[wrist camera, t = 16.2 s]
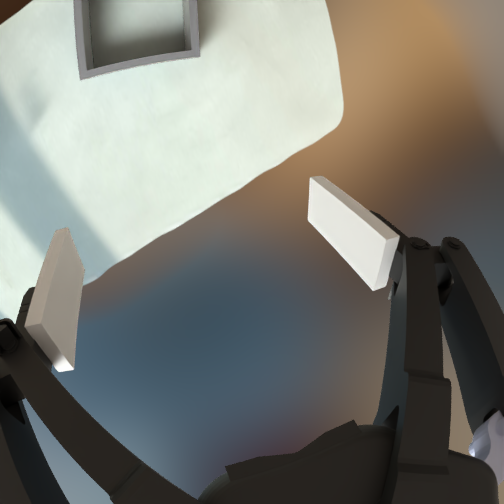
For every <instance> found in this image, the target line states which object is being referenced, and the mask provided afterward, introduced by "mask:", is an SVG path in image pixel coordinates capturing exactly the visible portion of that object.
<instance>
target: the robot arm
mask: <svg viewBox="0 0 504 504" xmlns="http://www.w3.org/2000/svg"><path fill="white" fill-rule="evenodd" d="M309 190H310V191H309V208H308V221H309V222H310V223H311V224H312V225H313V226H314V227H315V228H316V229H317V230H318V231H319V232H320V233H321V234H322V235H323V237H324V238H325V239H326V240H327V241H328V242H329V243H330V244H331V245H332V246H333V247H334V248H335V249H336V250H337V251H338V253H339V254H340V255H341V256H342V257H343V258H344V259H345V260H346V261H347V262H348V263H349V264H350V266H351V267H352V268H353V269H354V270H355V271H356V272H357V273H358V274H359V276H360V277H361V278H362V279H363V280H364V281H365V282H366V283H367V285H368V286H369V287H370V288H371V289H372V290H373V291H374V290H377V289H379V288H382V287H385V286H386V284H387V280H388V277H389V276H390V277H391V278H392V279H393V280H394V282H393V285H392V288H391V291H390V294H389V297H388V299H390V298H391V310H390V323H389V335H388V345H387V354H386V362H385V370H384V377H383V384H382V390H381V396H380V402H379V408H378V412H377V415H376V417H375V419H374V422H373V425H359V426H357V424H356V423H355V421H354V420H352V421H350V422H348V423H346V424H343V425H341V426H339V427H336V428H334V429H332V430H330V431H328V432H325V433H324V434H322V435H321V436H320V437H318V438H317V439H316V440H314V441H313V442H312V443H310V444H309V445H307V446H306V447H304V448H303V449H302V450H300V451H298V452H296V453H292V454H283V455H275V456H263V457H256V458H253V459H250V460H246V461H243V462H239V463H236V464H232V465H228V466H225V468H226V471H227V473H225V474H223V475H221V476H220V477H218V478H217V479H215V480H214V481H213V482H212V483H210V484H209V485H208V486H207V487H206V488H205V490H204V491H203V492H202V494H201V495H200V497H199V498H198V500H197V499H195V498H193V497H192V496H190V495H189V494H187V493H186V492H184V491H183V490H181V489H180V488H178V487H177V486H175V485H174V484H172V483H171V482H169V481H168V480H167V479H165V478H164V477H163V476H161V475H160V474H159V473H157V472H156V471H155V470H153V469H152V468H151V467H149V466H148V465H146V464H145V463H144V462H143V461H142V460H140V459H139V458H138V457H137V456H135V455H134V454H133V453H132V452H131V451H129V450H128V449H127V448H126V447H125V446H123V445H122V444H121V443H120V442H119V441H118V440H117V439H115V438H114V437H113V436H112V435H111V434H110V433H109V432H108V431H107V430H106V429H104V428H103V427H102V426H101V425H100V424H99V423H98V422H97V421H96V420H95V419H94V418H93V417H92V416H91V415H90V414H89V413H88V412H87V411H86V410H85V409H84V408H83V407H82V406H81V405H80V404H79V403H78V402H77V401H76V400H75V399H74V397H73V396H72V395H70V393H69V392H68V391H67V390H66V389H65V388H64V386H63V385H62V384H61V383H60V382H59V381H58V380H57V378H56V377H55V376H54V375H53V374H52V373H51V368H52V364H53V365H54V367H55V368H56V369H57V370H58V372H62V371H68V370H74V362H75V346H76V335H77V323H78V315H79V307H80V299H81V292H82V285H83V279H84V273H85V269H84V266H83V264H82V262H81V259H80V257H79V254H78V252H77V249H76V247H75V244H74V242H73V239H72V236H71V234H70V231H69V228H68V227H67V228H63V229H60V230H56V231H55V233H54V236H53V238H52V241H51V243H50V246H49V249H48V251H47V254H46V257H45V260H44V262H43V265H42V268H41V271H40V274H39V277H38V280H37V284H36V287H32V288H29V289H28V291H27V292H26V294H25V295H24V297H23V300H22V303H21V307H20V310H19V314H18V317H17V320H16V324H14V323H13V321H12V320H11V319H8V318H4V319H1V320H0V504H70V503H69V502H68V500H67V498H66V497H65V495H64V493H63V491H62V490H61V488H60V486H59V484H58V482H57V480H56V478H55V477H54V475H53V473H52V471H51V469H50V467H49V465H48V463H47V461H46V458H45V456H44V454H43V452H42V450H41V448H40V446H39V443H38V441H37V438H36V436H35V433H34V431H33V429H32V426H31V424H30V421H29V418H28V416H27V413H26V410H25V407H24V404H23V401H22V399H25V398H26V399H27V401H28V402H29V403H30V405H31V406H32V408H33V409H34V410H35V412H36V413H37V415H38V416H39V417H40V419H41V420H42V421H43V423H44V424H45V425H46V426H47V428H48V429H49V430H50V432H51V433H52V434H53V435H54V437H55V438H56V439H57V440H58V441H59V443H60V444H61V445H62V446H63V448H64V449H65V450H66V451H67V452H68V453H69V454H70V456H71V457H72V458H73V459H74V460H75V461H76V462H77V463H78V464H79V465H80V466H81V468H82V469H83V470H84V471H85V472H86V473H87V474H88V475H89V476H90V477H91V478H92V479H93V480H94V481H95V482H96V483H97V484H98V485H99V486H100V487H101V488H102V489H104V490H105V491H106V492H107V493H108V494H109V496H110V500H111V501H112V502H113V503H114V504H499V499H498V485H499V484H500V483H501V482H502V481H503V480H504V314H503V312H502V310H501V308H500V306H499V304H498V302H497V300H496V298H495V296H494V294H493V292H492V291H491V289H490V287H489V285H488V283H487V281H486V280H485V278H484V276H483V275H482V272H481V271H480V269H479V267H478V266H477V264H476V262H475V261H474V259H473V257H472V256H471V254H470V252H469V251H468V249H467V248H466V246H465V245H464V244H463V243H462V242H461V241H459V239H457V238H454V237H445V238H443V240H442V243H441V246H431V245H430V244H429V243H428V242H427V241H425V240H423V239H421V238H418V237H410V238H408V237H407V236H406V235H405V234H403V233H402V232H401V231H400V230H398V229H397V228H396V227H394V225H392V224H391V223H390V222H389V221H386V219H385V218H383V217H382V216H381V215H380V214H378V213H375V212H373V211H368V210H367V209H365V208H364V207H363V206H362V205H361V204H359V203H358V202H357V201H355V200H354V199H353V198H351V197H350V196H349V195H347V194H346V193H345V192H344V191H342V190H341V189H340V188H338V187H337V186H335V185H334V184H332V183H331V182H330V181H329V180H327V179H326V178H324V177H323V176H316V177H310V189H309ZM453 281H454V283H453ZM441 325H442V328H443V331H444V334H445V337H446V340H447V343H448V346H449V349H450V353H451V357H452V360H453V364H454V367H455V370H456V374H457V378H458V382H459V386H460V390H461V394H462V399H463V403H464V407H465V412H466V415H467V419H468V423H469V425H470V428H471V431H472V433H473V442H472V443H471V444H470V446H469V453H470V454H471V455H472V456H475V457H472V456H468V455H465V454H462V453H459V452H455V451H452V450H449V449H448V448H449V436H450V421H451V382H450V380H449V379H448V378H444V376H443V347H442V328H441Z"/></svg>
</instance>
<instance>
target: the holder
mask: <svg viewBox="0 0 504 504" xmlns="http://www.w3.org/2000/svg"><path fill="white" fill-rule="evenodd" d="M182 1H183V19H184V35H185V49H186V51H181V52H173V53H166V54H160V55H154V56H148V57H143V58H138V59H133V60H128V61H123V62H119V63H114V64H110V65H106V66H102V67H98V68H95V69H94V63H93V53H92V43H91V30H90V13H89V0H74V23H75V37H76V49H77V59H78V67H79V75H80V80H84V79H89V78H92V77H96V76H100V75H104V74H108V73H112V72H116V71H120V70H125V69H130V68H134V67H139V66H144V65H150V64H156V63H162V62H168V61H175V60H182V59H190V58H196V57H200V43H199V27H198V10H197V0H182Z"/></svg>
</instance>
